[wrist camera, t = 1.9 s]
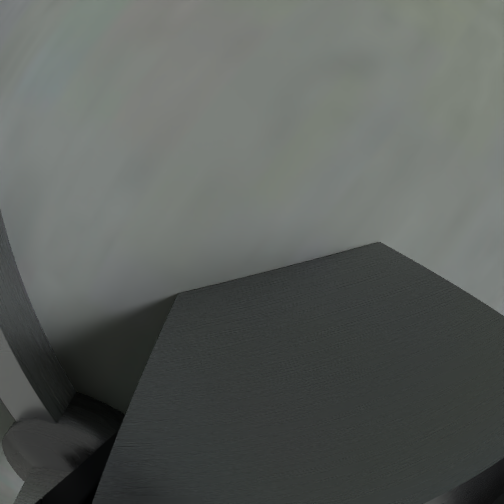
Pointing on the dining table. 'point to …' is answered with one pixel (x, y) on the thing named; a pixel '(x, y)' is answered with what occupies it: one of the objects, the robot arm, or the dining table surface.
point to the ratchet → (41, 395)
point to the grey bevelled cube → (319, 392)
